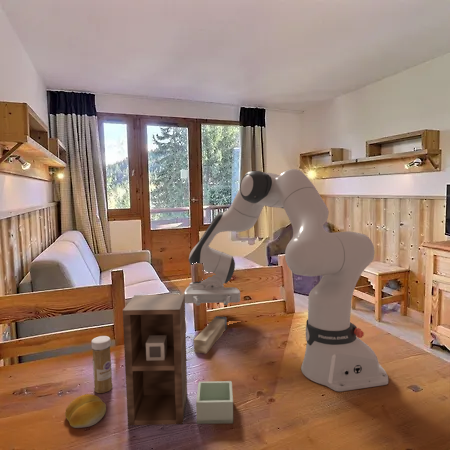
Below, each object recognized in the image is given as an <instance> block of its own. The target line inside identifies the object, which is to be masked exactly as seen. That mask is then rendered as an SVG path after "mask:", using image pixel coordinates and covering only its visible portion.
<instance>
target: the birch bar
mask: <svg viewBox="0 0 450 450" xmlns="http://www.w3.org/2000/svg"><path fill="white" fill-rule="evenodd" d="M227 329H228V322H227V317H226V316H218V315H217V316H214V318H213V319H212V320H211V321H210V322H209V323H208V324H207V325H206V326H205V327H204V328H203V329H202V330H201V331H200V332H199V334H198V335H196V337H195V338H194V339H193V349H194V350H193V351H194V353H198V354H208V353H209V351H210V350H211V349H212V347H213V346H214V345H215V344H216V343H217V341H218V340H220V338H221V336H222V335H223V334H224V333H223V332H224V331H226V330H227Z"/></svg>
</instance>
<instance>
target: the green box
mask: <svg viewBox="0 0 450 450" xmlns="http://www.w3.org/2000/svg"><path fill="white" fill-rule="evenodd" d="M232 382H233V381H231V380H225V381H224V380H223V381H222V380H219V381H217V380H215V381H198V383H197V384H198V385H197V392H196V401H195V402H196V403H195V409H196V410H195V411H196V413H195V414H196V425H203V424H204V425H206V424H207V425H209V424H212V425H213V424H234V397H233V395H234V394H233V383H232Z"/></svg>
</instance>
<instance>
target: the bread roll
mask: <svg viewBox="0 0 450 450" xmlns="http://www.w3.org/2000/svg"><path fill="white" fill-rule="evenodd" d="M106 411H107V405H106V403H105V402H103V400H102V399H101V398H100V397H99V396H97V395H95V394H92V393H91V394H90V393H86V394H83V395H82V394H81V395H80V396H77V397H76V398H75V399H73V400H72V401H71V402H69V404H68V405H67V407H66V409H65V413H64V415H65V418H66V420H67V421H68V422H69V423H68V424H69V425H70V426H71V427H72V428H74V429H80V428H87V427H88V428H89V427H92V426H94V425H96V424H97V423H99V422H101V420H102V418H104V416H105V414H106Z"/></svg>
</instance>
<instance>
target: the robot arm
mask: <svg viewBox="0 0 450 450" xmlns="http://www.w3.org/2000/svg"><path fill="white" fill-rule="evenodd" d="M264 207H268V208H276V209H277V208H280V209H284V211H285V213H286V215H287V217H288V220H289V222H290V225H291V226H292V227H291V228H292V232H293V234H292V238H291V239H290V241H289V242H288V244H287V245H286V247H285V251H284V257H285V258H284V259H285V262H286V265H287V266H288V268H289V270H290V271H291V272H292V274H294V275H295V276H296V275H297V276H304V277H319V276H322V277H321V279H320V281H318V283H317V284H316V285H315V286H314V287H313V288H312V289H311V290H310V292H309V294H308V300H307V304H308V306H307V319H306V322H305V324H306V326H305V341H306V346H305V352H304V357H303V359H302V364H301V367H300V369H301V370H300V371H301V373H302V374H303V376H305V377H306V379H308V380H309V381H310V380H311V381H312V382H314V383H316V384H319V385H322V386H325V387H328V388H329V389H331V390H333V391H335V392H347V391H352V390H359V389H366V388H372V387H380V386H386V385H388V384H389V376H388V374H387V371H386V370H385V369H384V367H383V366H382V365H381V364H380V363H379V359H378V356H377V355H376V353H375V351H374V350H373V349H372V348H371V346H370V345H368V344H367V343H365V342H364V341H363V340H361V339H362V338H363V337H364V335H365V333H364V331H363V330H362V329H361V328H359V327H357V325H356V324H354V323H352V322H351V314H352V313H351V309H352V299H353V296H354V292H355V288H356V285H357V283H358V281H359V279H360V277H361V276H362V274H363V272H364V271H365V270H366V268H367V267H368V266H369V265H371V263H372V262H373V260H374V257H375V247H374V246H375V245H374V243H373V241H372V240H371V238H370V237H369V236H368V235H366V234H364V233H361V232H356V231H349V230H346V231H337V232H334V231H333V232H329V231H327V230H326V229H325V228H324V225H325V224H326V223H327V221H328V218H329V215H330V214H329V213H330V211H329V207H327V205H326V203H325V201H324V200H323V197H322V196H321V195H320V193H319V191H318V189H317V188H316V186H315V185H314V183H313V182H312V181H311V180H310V179H309V177H308V176H307V175H306V174H305V173H304V172H303V171H301V170H300V169H297V168H290V169H287V170H284V171H282V173H280V174H276V173H272V172H268V171H267V172H263V171H262V170H252V171H248V172H246V173H245V174H244V175H243V177H242V179H241V181H240V184H239V189H238V191H237V192H236V194H235V197H234V198H233V200H232V203H231V205H230V206H229V208H228V209H227V210H225V211H224V212H221V211H220V212H219V213H218V214H217V215H216V216H215V217H213V218H214V219H212V221H211V223H210V224H209V226H208V227H207V228H206V230H205V232H204V233H203V235H202V236H201V237H200V239H199V240H198V242H197V243H196V245H195V246H193V248H192V249H191V251H190V253H189V257H188V262H189V264H190V266H191V265H193V264H194V263H196V262H197V263H204V270H205V271H204V272H206V273H207V272H208V273H210V272H213V273H215V274H216V275H213V276H212V277H208V278H207V279H205V280H203V279H202V280H203V281H202V280H199V282H198V281H191V282H189V285H188V286H187V287H186V288H185V290H184V291H183V295H185V304H195V306H201V304H219V303H220V304H221V303H222V304H223V306H228V305H229V304H230V303H233V304H234V303H239V302H241V290H239V288H237V287H230V286H228V287H226V286H224V285H225V284H227V283H228V281H229V282H230V281H231V279H232V277H233V275H234V272H235V269H236V262H235V259H234V257H233V255H231V254H228V253H226V252H224V251H220V250H218V249H215V248H213V247H210V244H211V243H212V241H213V240H214V239H215V237H216V236H217V234H220V233H222V232H223V233H224V232H234V233H239V232H240V233H241V232H247V231H248V230H251V229H253V227H254V226H255V225H256V223H257V222H258V219H259V217H260V215H261V214H262V211H263V209H264ZM192 263H193V264H192ZM224 283H225V284H224ZM223 284H224V285H223Z"/></svg>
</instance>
